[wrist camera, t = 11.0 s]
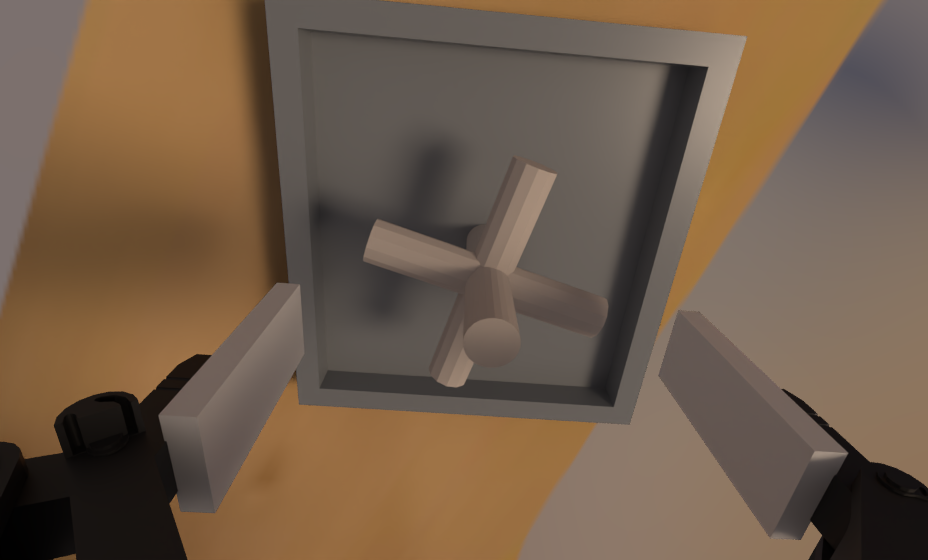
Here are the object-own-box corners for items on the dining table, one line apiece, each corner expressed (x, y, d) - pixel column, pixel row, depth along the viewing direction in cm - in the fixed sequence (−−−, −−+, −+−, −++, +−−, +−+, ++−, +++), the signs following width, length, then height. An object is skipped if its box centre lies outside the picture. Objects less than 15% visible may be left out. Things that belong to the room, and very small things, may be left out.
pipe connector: (421, 108, 21) (382, 129, 12) (616, 183, 22) (718, 255, 13) (365, 292, 25) (302, 417, 16) (534, 348, 26) (568, 493, 17)
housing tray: (616, 396, 29) (629, 424, 26) (312, 377, 28) (299, 404, 26) (715, 40, 20) (747, 36, 18) (286, -2, 20) (263, -11, 17)
